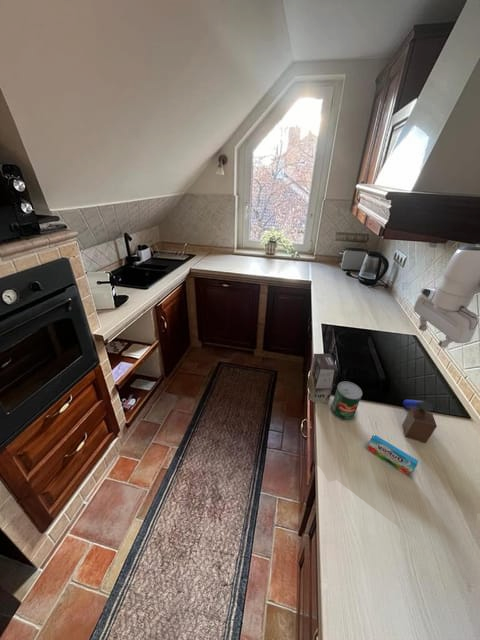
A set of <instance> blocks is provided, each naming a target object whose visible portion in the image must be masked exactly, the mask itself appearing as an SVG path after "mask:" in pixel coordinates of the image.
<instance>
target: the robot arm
mask: <svg viewBox="0 0 480 640" xmlns="http://www.w3.org/2000/svg"><path fill="white" fill-rule="evenodd" d="M478 293H480V243H469V244H466V245H465V244H464V245H463V246H461V247H458V249H457V250H455V251H454V253H453V255H451V257H450V260H449V261H448V263H447V265H446V267H445V269H444V271H443V277H442V280H441V281H440V282H439V283H438V284H437V286H431V287H430V286H429V287H422V288H421V290H420V294H419V295H418V297H417V299H416V300H415V302H414V306H413V311H414V313H416V314H417V315H419V318H418V319H419V326H418V329H419V330H420V331H421V332H426V331H427V329H428V327H429V326H428V325H427V322H428V323H429V324H430V325H431V326H433V327H434V328H435V329H437V330H438V331H439V332H441V334H444V335H445V337H444V339H445V340H441V339H440V340H439V342H438V343H437V345H438V346H439V347H440V348H441V349H446V348H448V346H449V344H451V343H453V342H454V343H455V344H467V343H469V342H471V341H472V339H473V337H474V335H475V332H476V329H477V327H478V325H479V318H478V317H477V316H478V315H477V314H476V313H475V312H473V311H471V310H469V309H468V308H469V307H470V304H471V303H472V301H473V299H474V298H475V296H476V294H478Z"/></svg>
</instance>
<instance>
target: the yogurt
mask: <svg viewBox="0 0 480 640" xmlns="http://www.w3.org/2000/svg"><path fill="white" fill-rule="evenodd" d="M365 449H366V451H368V452H370V453H371V454H372V455H374V456H375V457H377V458H378V459H380V460H381V461H383V462H385V463H387V464H388V465H389V466H390V467H392V468H394V469H396V470H398V472H400V473H402V474H403V475H405V476H407V477H411V475H412V474H413V472H414V471H415V469H416V468H417V467H418V464H419V460H418V459H417V458H414V457H413V456H411V455H410V454H408V453H407V452H405V451H403V450H402V449H400V448H398V447H396V446H394V445H393V444H391V443H390V442H388V441H387V440H385V439H383V438H382V437H380V436H378V435H376V434H374V433H373V434H372V435H371V438H370V440H369V442H368V444H367V446H366V448H365Z"/></svg>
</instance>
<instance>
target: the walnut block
mask: <svg viewBox="0 0 480 640" xmlns="http://www.w3.org/2000/svg"><path fill="white" fill-rule="evenodd" d="M401 426H402V431H403V435H404V438H406V439H409V440H414V441H417V442H420V443H423V444H426V443H428V441H429V439H430V437H432V435H433V433H434V432H435V430H436V429H437V426H438V425H437V423H436V420H435V417H434V413H432V412H426V411H420V410H417V409H413V408H411V409H409V411H408V413H407V414H406V417H405V419H404V420H403V422H402V424H401Z"/></svg>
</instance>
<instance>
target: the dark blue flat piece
mask: <svg viewBox="0 0 480 640" xmlns="http://www.w3.org/2000/svg"><path fill="white" fill-rule="evenodd" d="M402 405H403V407H404V408H405V409H408V410H411V408H413V409H417V410H420V411H424V412H428V413H430V412H431V411H432V410H433V408H434V407H433V406H434V405H433V404H432V403H431V402H430V401H428V400H419V399H404V400H403V401H402Z"/></svg>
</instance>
